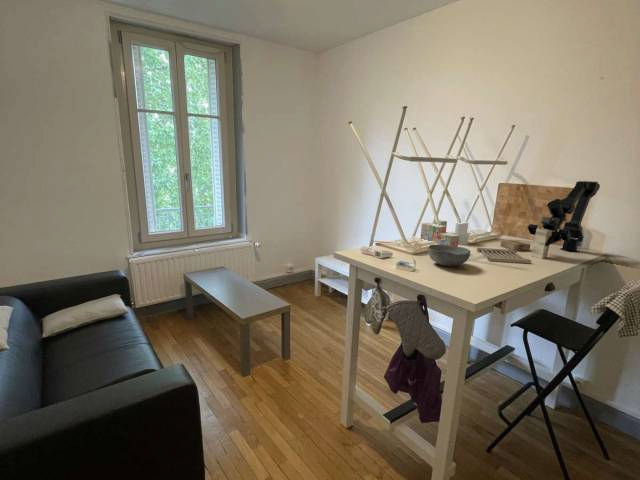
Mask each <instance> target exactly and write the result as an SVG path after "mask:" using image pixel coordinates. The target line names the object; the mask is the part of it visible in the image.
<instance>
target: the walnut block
mask: <svg viewBox="0 0 640 480" xmlns="http://www.w3.org/2000/svg"><path fill="white" fill-rule="evenodd" d="M500 247H501V248H503V249H507V250H509V251H512V250H516V251H515V252H527V251H529V252H530V249H531V243H527V242H525V241H520V240H518V239H505V240H504V239H502V240H501V241H500Z"/></svg>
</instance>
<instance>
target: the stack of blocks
mask: <svg viewBox="0 0 640 480" xmlns="http://www.w3.org/2000/svg"><path fill="white" fill-rule="evenodd" d="M420 227H421V228H420V238H419V239H424V240H428V241H434V242H436V243H437V244H438V245H450V246H457V247H459V244H458V241H459V235H455V234H452V233H453V232H447V226H442V225H440V226H439V225H437V224H434V222H433V223H432V222H422V223H421V226H420Z"/></svg>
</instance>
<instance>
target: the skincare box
mask: <svg viewBox="0 0 640 480" xmlns="http://www.w3.org/2000/svg"><path fill="white" fill-rule="evenodd" d="M438 220H439V223H440V225H442V226H446V227H447V225H448V221H447V220H443V219H438ZM433 224H437V222H436V221H435V220H434V222H433Z"/></svg>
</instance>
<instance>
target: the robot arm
mask: <svg viewBox="0 0 640 480" xmlns="http://www.w3.org/2000/svg"><path fill="white" fill-rule="evenodd" d="M600 187H601V184H600V183H599V182H598V181H590V180H579V181H576V183H575V186H574V187H573V188H572V189H571V190H570V192H569V193H568V195H566V197H565V198H562V199H559V198H555V199H554V200H550V201H549V202H547V204H546V206H547V209H548V212H549V214H550V215H551V217H549V216H542V217H541V221H540V224H542V225H541V226H542V228H541V227H540V226H539V225H538V224H534V223H530V224H528V226H527V230H528V231H529V235H533V236H535V234H536V229H547V230H552V234H551V237H550V239H549V240H548V241H547V243H546V245H545V246H548V245H549V246H550V245H553V244H554V243H557V242H562V241H563V243H562V247H560V248H559V249H560V250H563V251H565V252H570V253H571V252H572V253H573V252H574V253H575V252H576V253H579V252H580V250H578V247H579V242H581V243H583V240H584V234H583V226H582V222H583V219H584V217H585V214H586V211H587V209H588V205H589V203H590V200H591V199H592V198H593V197H594V196H595V195H597V193H598V191H599V190H600ZM575 204H576V205H575ZM572 213H573V214H572ZM571 214H572V216H571V219H570V220H569V221H567V215H571ZM566 221H567V222H566ZM564 222H565V223H564ZM563 223H564V226H563V228H562V224H563Z"/></svg>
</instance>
